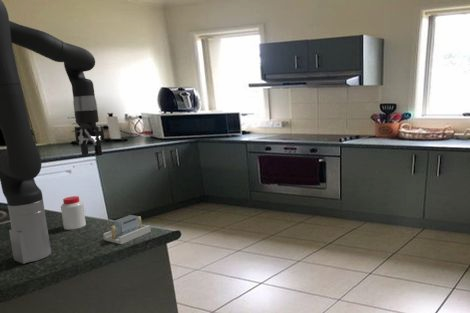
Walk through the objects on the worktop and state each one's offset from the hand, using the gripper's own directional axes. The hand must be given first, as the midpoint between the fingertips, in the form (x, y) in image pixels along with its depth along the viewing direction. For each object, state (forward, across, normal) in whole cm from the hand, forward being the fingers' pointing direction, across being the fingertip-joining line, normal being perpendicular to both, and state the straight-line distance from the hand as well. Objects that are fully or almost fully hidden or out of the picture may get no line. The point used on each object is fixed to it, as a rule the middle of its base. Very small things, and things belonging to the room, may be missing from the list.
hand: (91, 155), depth 131 cm
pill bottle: (+27, -12, -3) cm, 30 cm away
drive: (+26, +17, -1) cm, 31 cm away
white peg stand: (+27, +17, -1) cm, 32 cm away
